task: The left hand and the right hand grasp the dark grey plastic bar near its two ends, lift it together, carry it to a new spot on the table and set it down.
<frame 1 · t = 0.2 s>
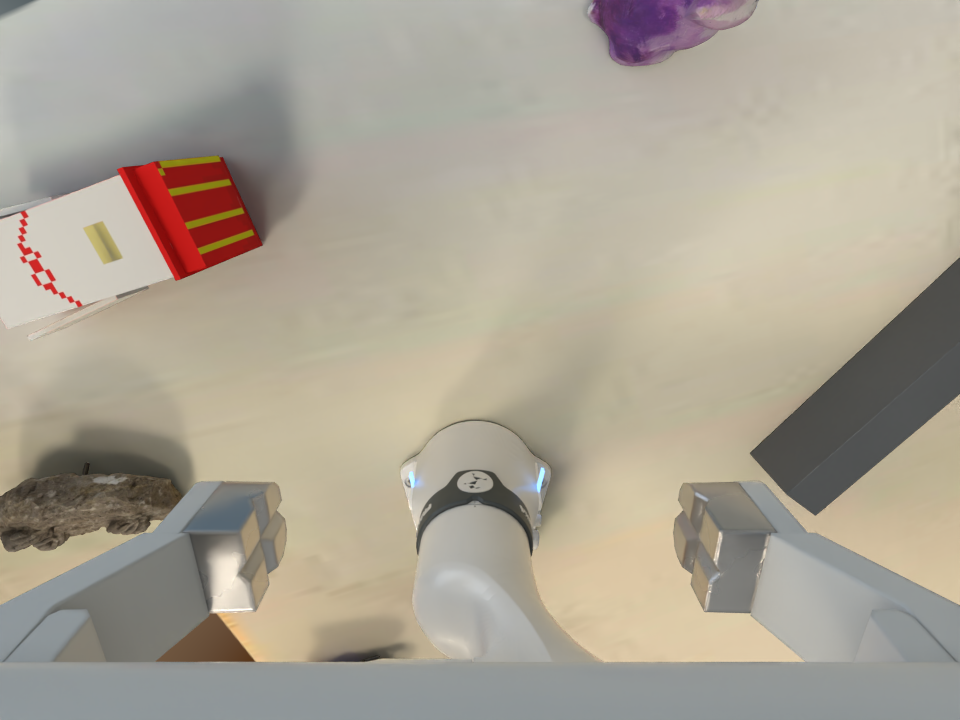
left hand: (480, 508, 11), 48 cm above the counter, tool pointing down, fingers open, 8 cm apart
fossil: (100, 487, 67), on the counter
figurine: (652, 15, 48), on the counter
toy: (128, 242, 56), on the counter
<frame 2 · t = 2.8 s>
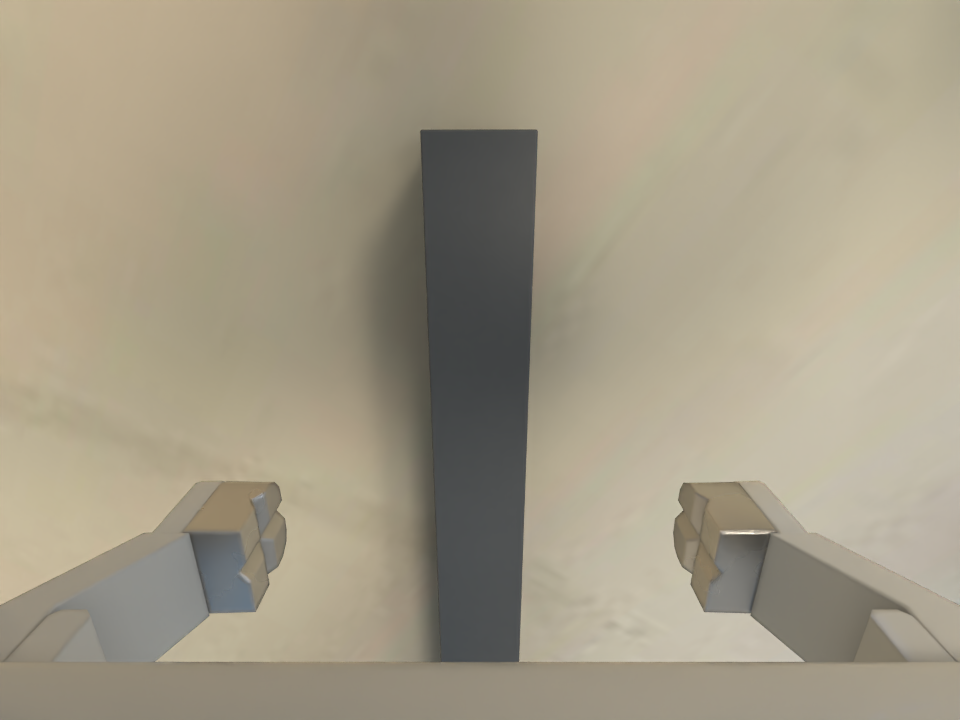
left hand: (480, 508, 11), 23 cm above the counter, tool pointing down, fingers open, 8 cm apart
bar: (480, 657, 44), on the counter, touching right hand
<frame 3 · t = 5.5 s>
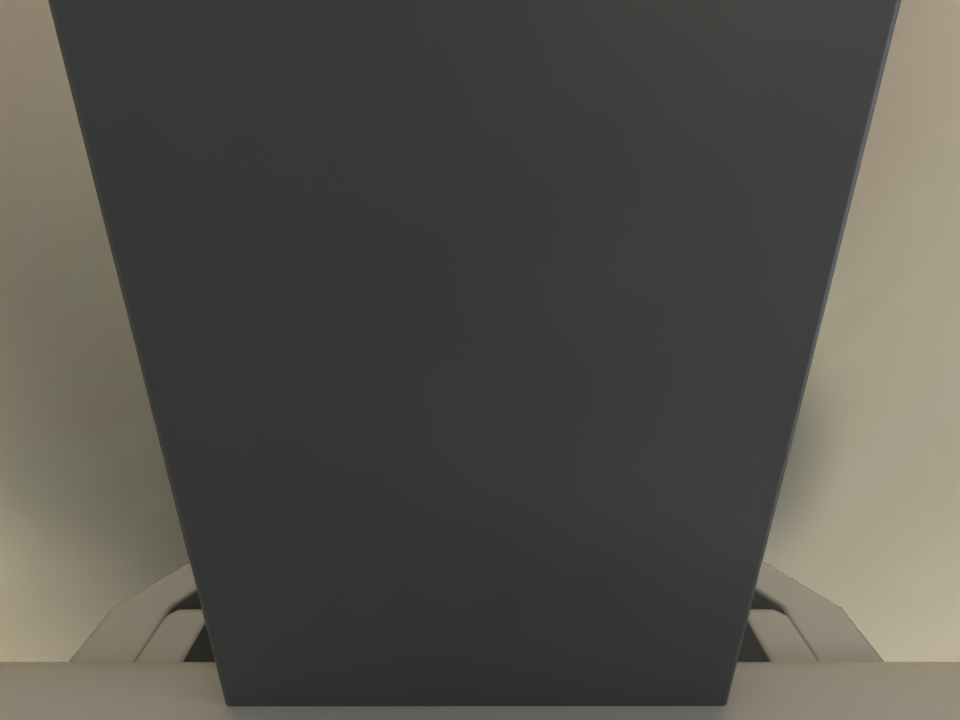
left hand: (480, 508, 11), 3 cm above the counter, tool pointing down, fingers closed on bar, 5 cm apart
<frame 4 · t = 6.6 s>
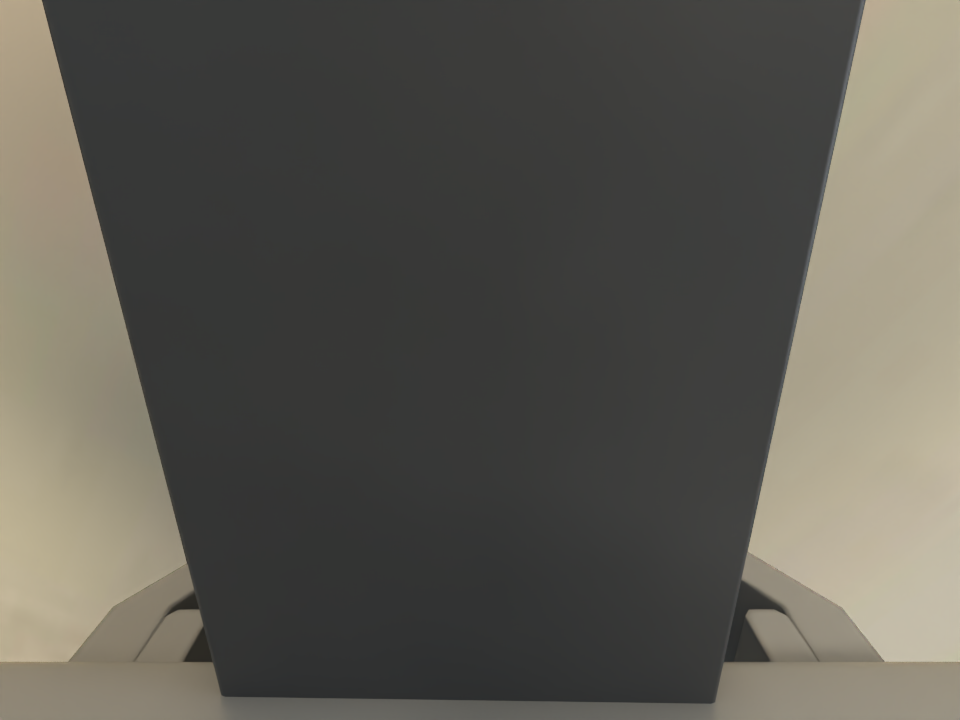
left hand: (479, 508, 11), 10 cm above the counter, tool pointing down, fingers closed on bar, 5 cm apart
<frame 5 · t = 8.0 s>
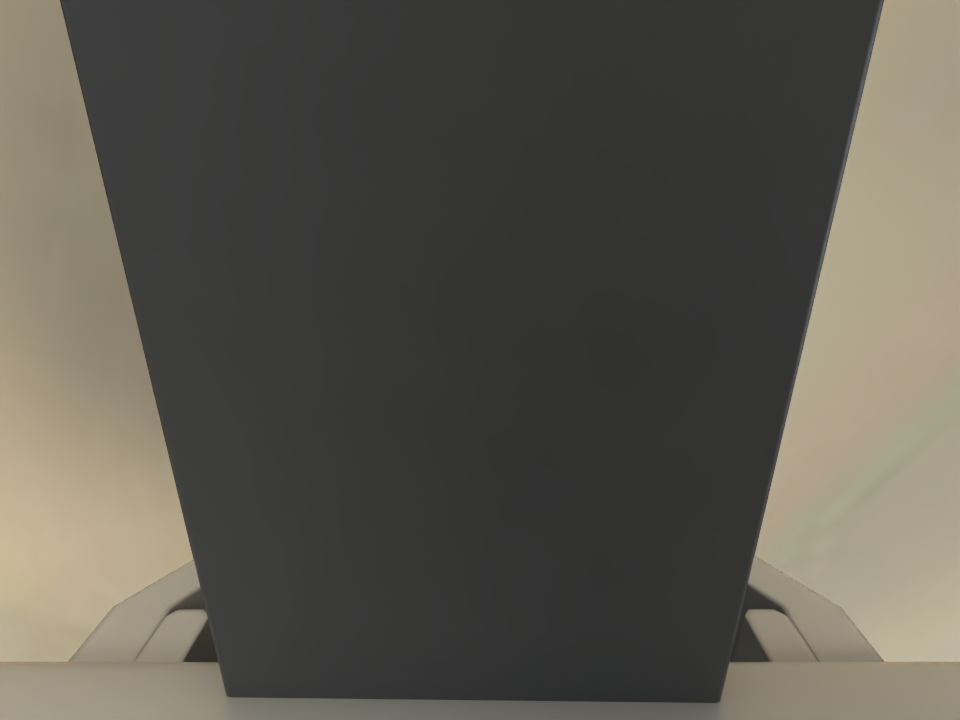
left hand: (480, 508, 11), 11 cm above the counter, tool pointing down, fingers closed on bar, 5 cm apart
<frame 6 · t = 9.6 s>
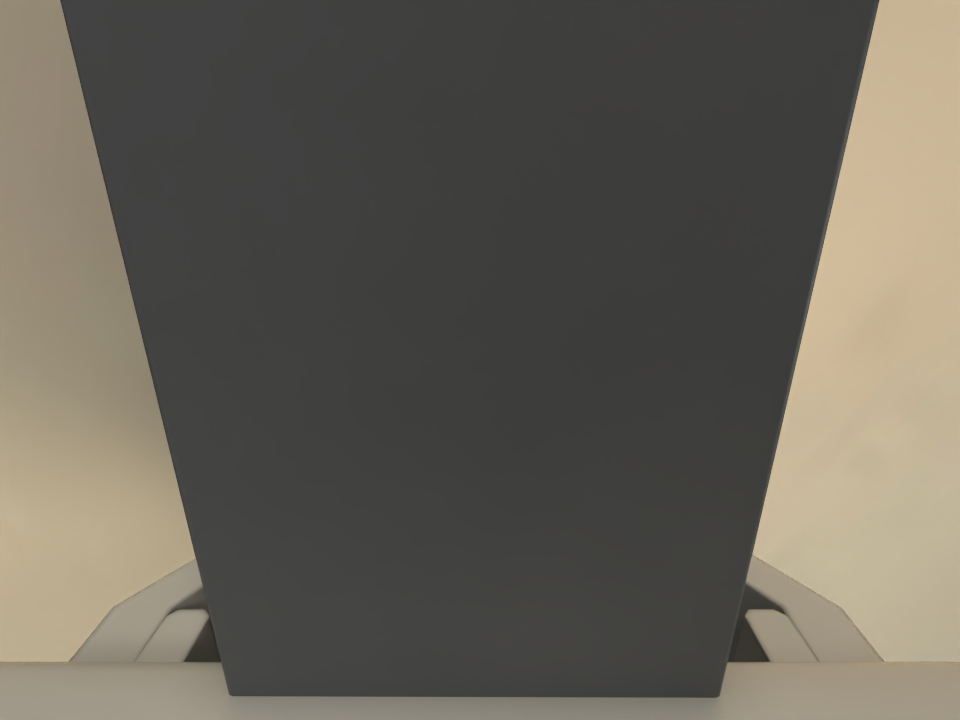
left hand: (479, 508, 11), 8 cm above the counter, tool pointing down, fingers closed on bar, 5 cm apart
when the left hand's fingers open (5 cm above the counter, at t = 10.5 s): bar stays where it is, on the counter.
when the right hand's fingers open (4 cm above the counter, at t = 10.5 s): bar stays where it is, on the counter.
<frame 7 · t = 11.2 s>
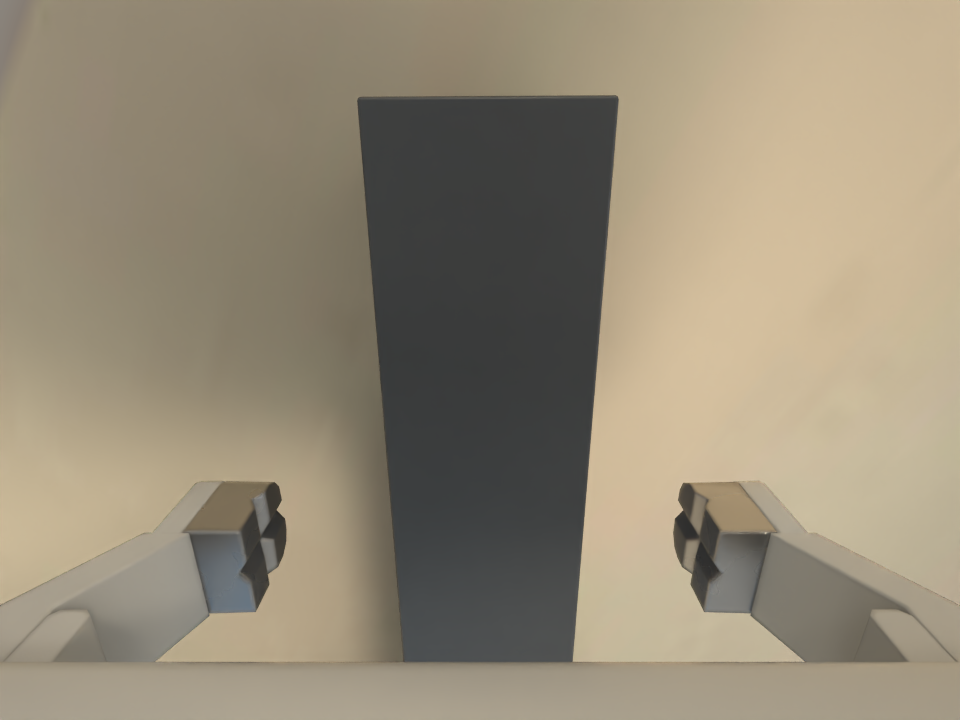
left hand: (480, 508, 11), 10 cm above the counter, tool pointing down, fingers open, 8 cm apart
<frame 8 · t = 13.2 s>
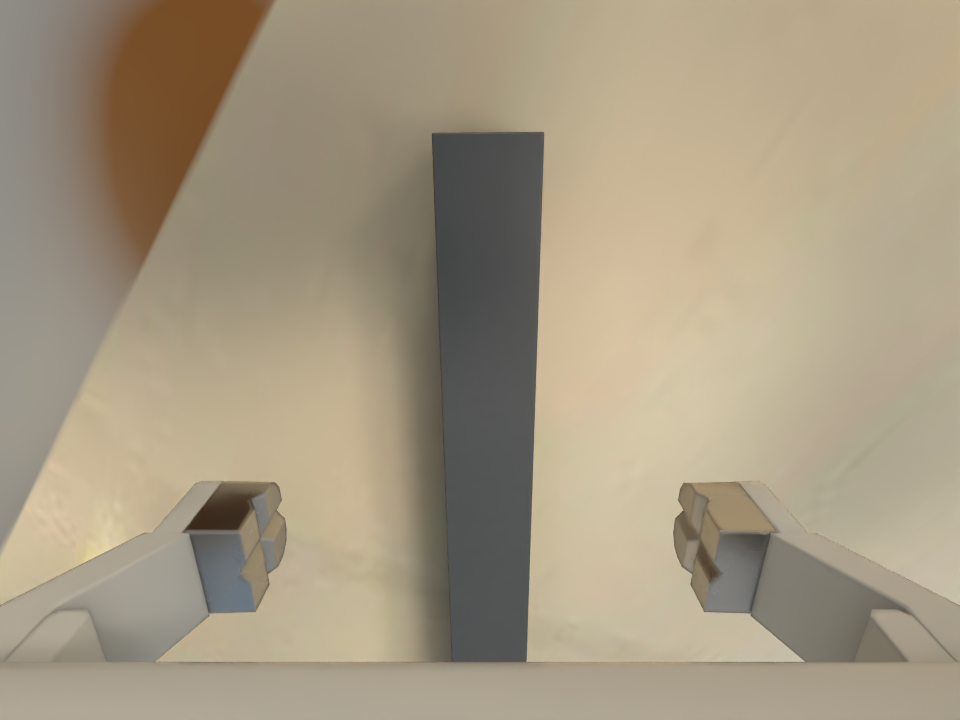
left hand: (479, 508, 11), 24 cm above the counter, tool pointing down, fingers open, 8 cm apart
bar: (487, 646, 45), on the counter
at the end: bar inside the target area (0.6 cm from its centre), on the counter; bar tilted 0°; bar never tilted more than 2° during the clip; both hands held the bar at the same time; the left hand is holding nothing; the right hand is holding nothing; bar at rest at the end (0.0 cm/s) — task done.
